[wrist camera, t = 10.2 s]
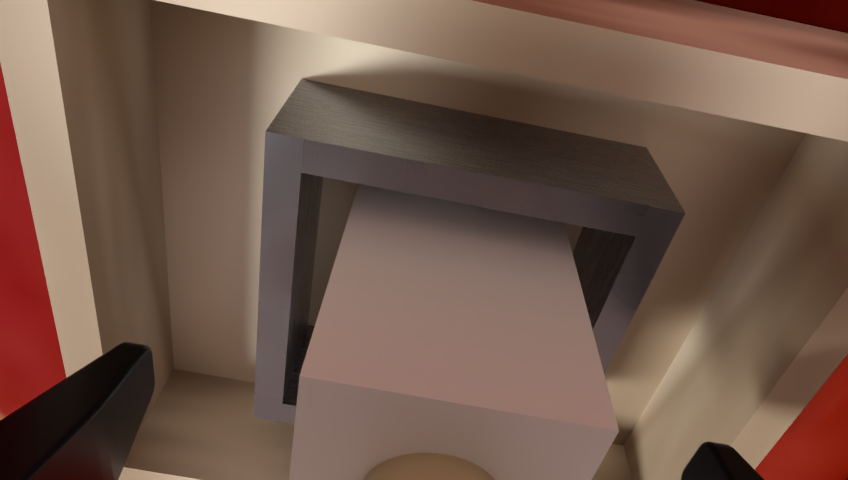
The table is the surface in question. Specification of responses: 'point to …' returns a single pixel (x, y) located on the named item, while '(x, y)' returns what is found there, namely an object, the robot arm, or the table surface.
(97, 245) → the socket box
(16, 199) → the table surface
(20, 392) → the table surface
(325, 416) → the connector plug
